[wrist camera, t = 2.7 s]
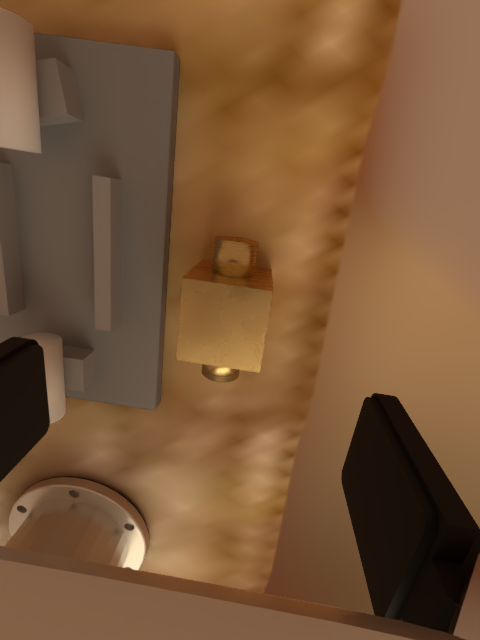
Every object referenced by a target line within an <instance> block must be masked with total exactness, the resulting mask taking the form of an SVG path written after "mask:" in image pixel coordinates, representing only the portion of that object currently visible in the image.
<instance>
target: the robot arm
mask: <svg viewBox="0 0 480 640" xmlns="http://www.w3.org/2000/svg"><path fill="white" fill-rule="evenodd" d="M49 425H50V417H49V406H48V395H47V384H46V373H45V362H44V351H43V348H42V347H41V346H40V345H39V344H38V342H37V341H36V340H34V339H27V338H21V337H11V338H9V339H7V340H5V341H3V342H2V343H0V482H1V481H2V480H3V479H4V478H5V476H6V475H7V474H8V473H9V472H10V471H11V470H12V469H13V468H14V467H15V466H16V465H17V464H18V463H19V462H20V461H21V460H22V458H23V457H24V456H25V455H26V454H27V453H28V452H29V451H30V450H31V449H32V448H33V447H34V446H35V445H36V444H37V443H38V441H39V440H40V439H41V438H42V437H43V436H44V435H45V434H46V432H47V431H48V428H49ZM342 485H343V489H344V494H345V498H346V502H347V506H348V510H349V514H350V517H351V522H352V526H353V530H354V533H355V537H356V542H357V546H358V550H359V554H360V558H361V561H362V566H363V570H364V574H365V577H366V582H367V586H368V590H369V594H370V598H371V602H372V606H373V610H374V613H375V615H370V614H366V613H361V612H356V611H351V610H346V609H341V608H336V607H332V606H327V605H322V604H316V603H312V602H306V601H301V600H296V599H291V598H285V597H280V596H274V595H269V594H264V593H258V592H253V591H247V590H242V589H237V588H231V587H226V586H220V585H215V584H210V583H204V582H199V581H193V580H188V579H183V578H177V577H172V576H166V575H161V574H155V573H149V572H144V571H138V570H139V569H140V568H141V566H142V564H143V562H144V560H145V556H146V553H147V550H148V546H149V535H148V531H147V527H146V525H145V523H144V520H143V518H142V517H141V515H140V514H139V513H138V511H137V510H136V508H135V507H134V506H133V505H132V504H131V503H130V502H129V501H128V500H127V499H125V498H124V497H123V496H121V495H120V494H118V493H117V492H116V491H114V490H112V489H110V488H108V487H106V486H104V485H102V484H99V483H96V482H93V481H90V480H85V479H80V478H70V477H60V478H51V479H47V480H44V481H41V482H38V483H36V484H34V485H33V486H31V487H29V488H28V489H27V490H26V491H25V492H24V493H23V494H22V495H21V496H20V497H19V499H18V500H17V501H16V502H15V503H14V505H13V507H12V509H11V512H10V514H9V522H8V525H9V532H10V536H11V539H10V540H9V541H8V543H7V544H6V545H5V547H3V546H0V640H480V529H479V527H478V525H477V524H476V522H475V521H474V519H473V517H472V516H471V514H470V513H469V511H468V509H467V508H466V506H465V505H464V503H463V501H462V500H461V498H460V497H459V495H458V494H457V492H456V490H455V489H454V487H453V486H452V484H451V482H450V481H449V479H448V478H447V476H446V475H445V473H444V471H443V470H442V468H441V467H440V465H439V463H438V462H437V460H436V459H435V457H434V455H433V454H432V452H431V451H430V449H429V447H428V446H427V444H426V443H425V441H424V439H423V438H422V436H421V435H420V433H419V432H418V430H417V429H416V427H415V425H414V423H413V422H412V420H411V419H410V417H409V416H408V414H407V412H406V411H405V409H404V408H403V406H402V404H401V403H400V401H399V400H398V398H397V397H395V396H390V395H384V394H377V393H374V394H373V395H372V396H371V398H370V397H366V398H365V400H364V402H363V406H362V409H361V412H360V415H359V418H358V421H357V425H356V428H355V431H354V434H353V437H352V441H351V444H350V447H349V451H348V453H347V457H346V460H345V463H344V466H343V470H342Z"/></svg>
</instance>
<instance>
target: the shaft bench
mask: <svg viewBox="0 0 480 640" xmlns="http://www.w3.org/2000/svg"><path fill="white" fill-rule="evenodd" d="M179 71H180V59H179V58H178V56H177V54H176V53H175V51H170V50H163V49H155V48H147V47H139V46H132V45H124V44H116V43H108V42H101V41H93V40H85V39H78V38H70V37H62V36H54V35H47V34H39V33H34V27H33V25H32V24H31V23H30V22H29V21H28V20H26V19H25V18H23V17H21V16H20V15H18V14H16V13H13V12H11V11H9V10H6V9H4V8H1V7H0V343H2V342H3V341H5V340H7V339H9V338H11V337H21V338H27V339H34V340H36V341H37V342H38V344H39V345H40V346H41V347H42V348H43V351H44V362H45V373H46V384H47V395H48V406H49V417H50V424H52V423H54V422H57V421H58V420H60V419H61V418H62V417H63V416H64V415H65V413H66V402H65V397H72V398H78V399H84V400H91V401H97V402H104V403H110V404H116V405H123V406H129V407H136V408H142V409H148V410H156V409H157V407H158V405H159V403H160V398H161V380H162V363H163V346H164V329H165V312H166V295H167V277H168V260H169V243H170V226H171V209H172V192H173V174H174V157H175V140H176V123H177V106H178V88H179Z"/></svg>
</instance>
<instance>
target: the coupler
mask: <svg viewBox="0 0 480 640" xmlns="http://www.w3.org/2000/svg"><path fill="white" fill-rule="evenodd" d="M257 248H258V242H256V241H253V240H249V239H243V238H237V237H227V236H217V237H215V246H214V256H213V261H207V260H201V261H200V262H199V263H198V264H197V265H196V266H195V267H194V268H192V269H191V270H190V271H189V272H188V273H187V274H186V275H185V276H184V277H183V278H182V286H181V300H180V313H179V327H178V341H177V355H176V360H179V361H186V362H192V363H199V364H202V374H203V375H204V376H205V377H206V378H208V379H210V380H212V381H217V382H230V381H233V380H235V379H237V378H238V376H239V371H240V370H245V371H252V372H258V373H260V367H261V361H262V355H263V349H264V343H265V337H266V332H267V326H268V320H269V314H270V308H271V302H272V296H273V282H272V270H269V269H262V268H255V262H256V255H257Z"/></svg>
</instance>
